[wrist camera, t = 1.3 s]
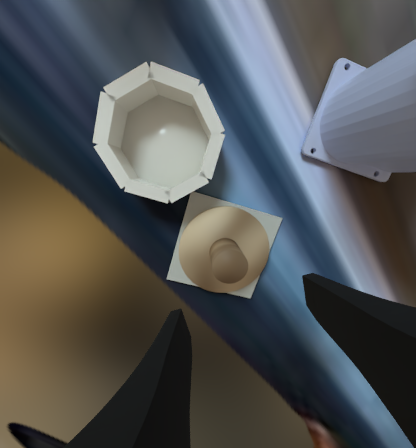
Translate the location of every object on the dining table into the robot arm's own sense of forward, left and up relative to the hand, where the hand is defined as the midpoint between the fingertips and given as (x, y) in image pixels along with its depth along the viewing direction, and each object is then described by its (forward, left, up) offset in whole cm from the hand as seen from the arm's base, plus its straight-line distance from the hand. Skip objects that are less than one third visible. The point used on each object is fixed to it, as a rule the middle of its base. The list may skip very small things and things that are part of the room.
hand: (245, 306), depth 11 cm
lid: (0, 0, -9) cm, 9 cm away
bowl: (+8, -8, -10) cm, 15 cm away
